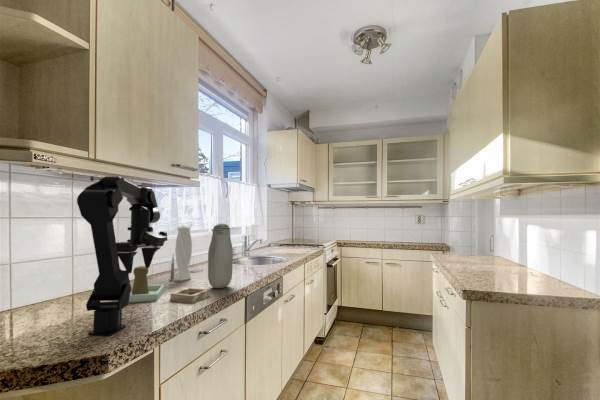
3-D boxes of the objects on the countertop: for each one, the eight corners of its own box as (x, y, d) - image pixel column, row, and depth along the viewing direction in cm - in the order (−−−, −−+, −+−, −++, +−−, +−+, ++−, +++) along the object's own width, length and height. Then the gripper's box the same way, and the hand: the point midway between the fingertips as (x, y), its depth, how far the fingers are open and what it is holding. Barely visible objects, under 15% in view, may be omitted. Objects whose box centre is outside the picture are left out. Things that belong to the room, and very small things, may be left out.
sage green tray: (157, 300, 109) (157, 294, 109) (111, 303, 105) (111, 296, 105) (164, 290, 124) (164, 284, 124) (124, 292, 120) (124, 286, 120)
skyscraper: (185, 277, 150) (186, 221, 151) (195, 279, 145) (196, 222, 146) (169, 280, 143) (171, 222, 144) (179, 282, 138) (180, 222, 139)
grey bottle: (224, 291, 123) (226, 224, 124) (203, 289, 126) (204, 223, 127) (236, 285, 133) (237, 223, 134) (215, 284, 135) (216, 223, 137)
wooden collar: (192, 303, 107) (192, 296, 107) (170, 300, 110) (170, 293, 110) (209, 295, 116) (209, 289, 116) (188, 293, 119) (188, 287, 119)
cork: (148, 296, 113) (149, 267, 113) (130, 298, 110) (131, 268, 111) (149, 292, 118) (150, 264, 119) (132, 294, 116) (133, 265, 116)
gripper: (144, 225, 90) (143, 276, 90) (177, 223, 109) (176, 266, 108) (111, 225, 92) (109, 275, 91) (149, 223, 110) (147, 265, 110)
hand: (138, 270), depth 100 cm, fingers open, 9 cm apart
